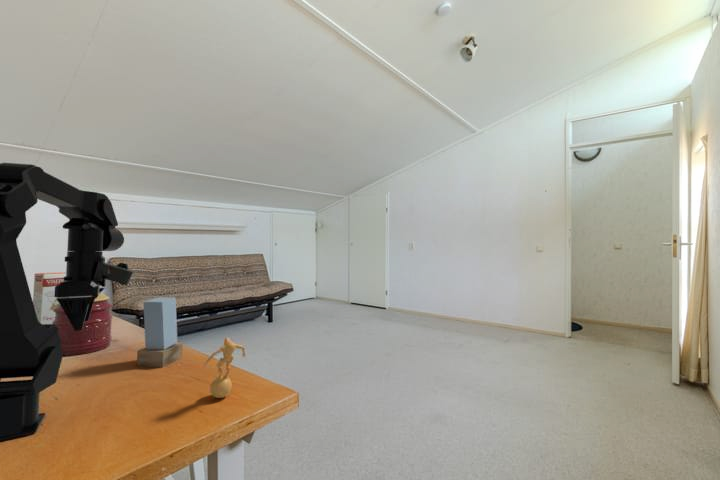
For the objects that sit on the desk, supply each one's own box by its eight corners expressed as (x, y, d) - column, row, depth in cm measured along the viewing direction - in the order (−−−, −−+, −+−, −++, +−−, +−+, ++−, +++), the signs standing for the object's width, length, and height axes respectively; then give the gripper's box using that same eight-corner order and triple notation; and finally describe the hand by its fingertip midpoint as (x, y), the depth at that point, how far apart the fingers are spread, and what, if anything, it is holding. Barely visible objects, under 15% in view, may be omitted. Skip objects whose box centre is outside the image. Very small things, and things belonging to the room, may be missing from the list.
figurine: (235, 387, 68) (237, 330, 68) (250, 396, 64) (252, 335, 64) (194, 401, 61) (196, 338, 62) (208, 411, 57) (210, 344, 58)
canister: (78, 358, 83) (81, 290, 84) (37, 354, 85) (40, 288, 86) (122, 343, 96) (125, 285, 97) (85, 341, 98) (88, 283, 99)
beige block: (162, 368, 78) (163, 352, 78) (136, 366, 79) (137, 350, 79) (182, 359, 85) (182, 343, 85) (157, 357, 86) (158, 342, 86)
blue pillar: (164, 349, 80) (162, 302, 79) (145, 349, 80) (143, 301, 80) (177, 342, 85) (175, 297, 84) (159, 341, 85) (157, 297, 85)
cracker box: (39, 346, 92) (42, 273, 93) (29, 343, 95) (33, 273, 95) (95, 335, 105) (98, 271, 106) (85, 332, 107) (88, 270, 108)
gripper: (130, 253, 65) (127, 330, 64) (132, 251, 80) (130, 313, 80) (56, 252, 58) (51, 338, 58) (73, 250, 74) (70, 318, 73)
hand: (81, 325), depth 67 cm, fingers open, 9 cm apart
